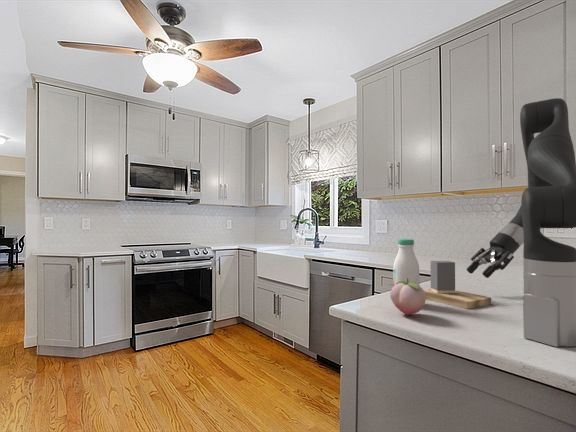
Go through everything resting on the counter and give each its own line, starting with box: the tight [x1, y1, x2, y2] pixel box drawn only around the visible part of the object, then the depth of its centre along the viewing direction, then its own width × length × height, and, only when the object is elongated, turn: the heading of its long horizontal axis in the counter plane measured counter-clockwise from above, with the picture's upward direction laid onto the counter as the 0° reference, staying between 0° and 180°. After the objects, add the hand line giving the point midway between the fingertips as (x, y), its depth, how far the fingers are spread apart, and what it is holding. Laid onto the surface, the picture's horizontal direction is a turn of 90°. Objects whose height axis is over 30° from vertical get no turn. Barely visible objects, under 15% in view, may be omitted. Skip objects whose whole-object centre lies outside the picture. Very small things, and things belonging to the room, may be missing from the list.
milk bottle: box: [392, 238, 421, 288], centre depth 100 cm, size 8×8×20 cm
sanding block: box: [430, 260, 456, 293], centre depth 108 cm, size 6×4×10 cm
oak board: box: [423, 288, 492, 310], centre depth 104 cm, size 12×17×2 cm
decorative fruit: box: [389, 278, 427, 316], centre depth 88 cm, size 9×8×10 cm
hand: (476, 273), depth 109 cm, fingers open, 8 cm apart
